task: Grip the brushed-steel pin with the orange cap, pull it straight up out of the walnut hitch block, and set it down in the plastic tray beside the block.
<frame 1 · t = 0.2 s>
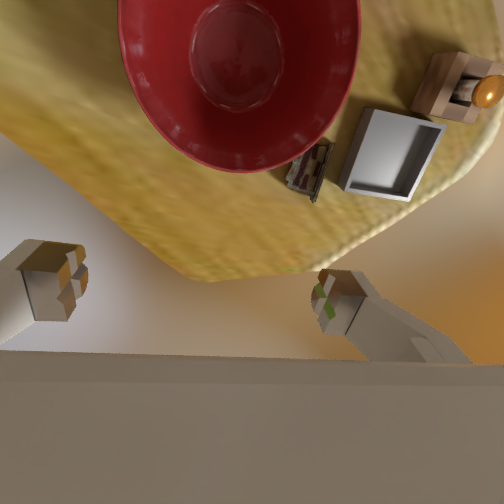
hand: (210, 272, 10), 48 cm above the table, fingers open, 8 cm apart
mixing bowl: (235, 59, 46), on the table
tray: (383, 154, 58), on the table
hitch block: (441, 88, 52), on the table
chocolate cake: (304, 166, 57), on the table
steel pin: (445, 88, 51), point 1 cm above the table, touching hitch block
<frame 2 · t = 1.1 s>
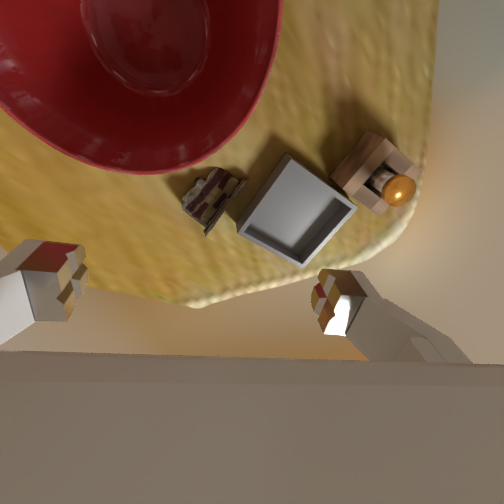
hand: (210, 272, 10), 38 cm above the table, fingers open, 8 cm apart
mixing bowl: (148, 26, 36), on the table
tray: (292, 210, 52), on the table
hitch block: (365, 169, 49), on the table
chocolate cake: (211, 192, 49), on the table
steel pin: (367, 170, 48), point 1 cm above the table, touching hitch block
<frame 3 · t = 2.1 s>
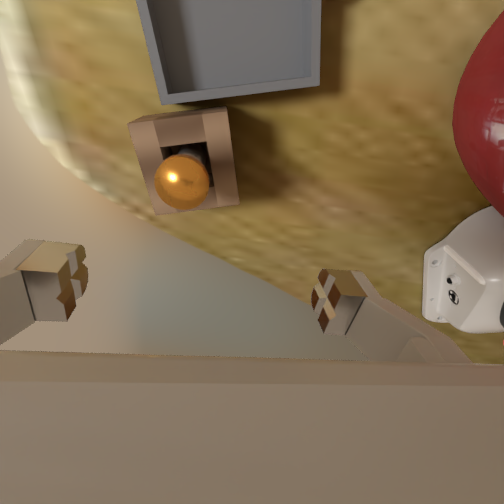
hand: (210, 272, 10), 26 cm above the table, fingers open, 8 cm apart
tray: (228, 0, 26), on the table
hitch block: (193, 153, 33), on the table
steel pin: (192, 155, 32), point 1 cm above the table, touching hitch block
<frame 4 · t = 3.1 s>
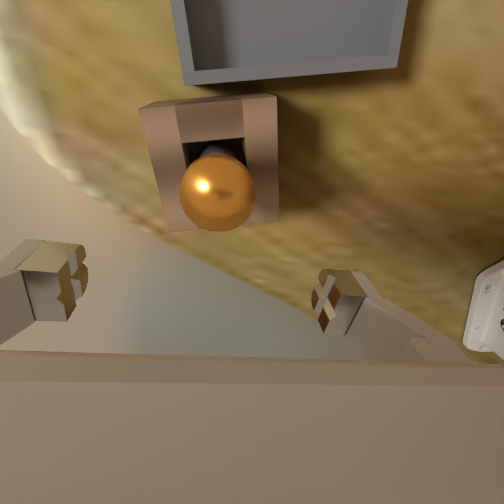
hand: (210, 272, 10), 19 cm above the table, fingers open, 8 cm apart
hitch block: (217, 152, 26), on the table
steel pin: (217, 155, 25), point 1 cm above the table, touching hitch block
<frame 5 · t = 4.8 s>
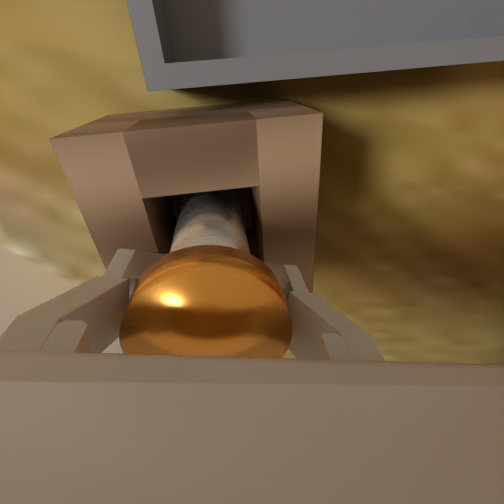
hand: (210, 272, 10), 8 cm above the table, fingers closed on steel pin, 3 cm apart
hitch block: (211, 191, 17), on the table
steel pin: (211, 197, 16), point 1 cm above the table, touching gripper, hitch block
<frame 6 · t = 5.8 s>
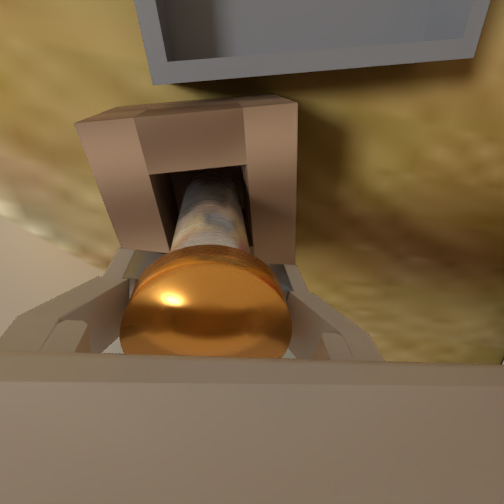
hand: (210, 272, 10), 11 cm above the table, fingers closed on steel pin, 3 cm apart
hitch block: (207, 176, 19), on the table
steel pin: (211, 197, 16), point 4 cm above the table, touching gripper
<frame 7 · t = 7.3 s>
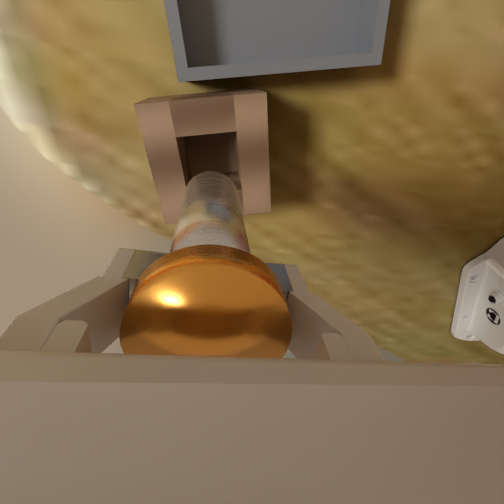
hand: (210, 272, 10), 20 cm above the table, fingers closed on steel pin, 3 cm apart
hitch block: (211, 147, 27), on the table
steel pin: (211, 197, 16), point 13 cm above the table, touching gripper
when the fingers open (10 cm above the table, at t = 12.1 s): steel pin moves 6 cm and tips over, resting on tray.
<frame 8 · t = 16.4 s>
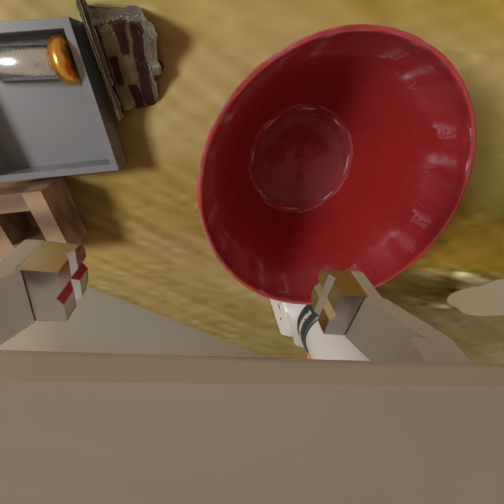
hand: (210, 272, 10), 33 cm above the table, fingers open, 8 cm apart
mixing bowl: (300, 161, 42), on the table
tray: (45, 106, 35), on the table
hitch block: (44, 209, 41), on the table
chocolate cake: (133, 62, 34), on the table
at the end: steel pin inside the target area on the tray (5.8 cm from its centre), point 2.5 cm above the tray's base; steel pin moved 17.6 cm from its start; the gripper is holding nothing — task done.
